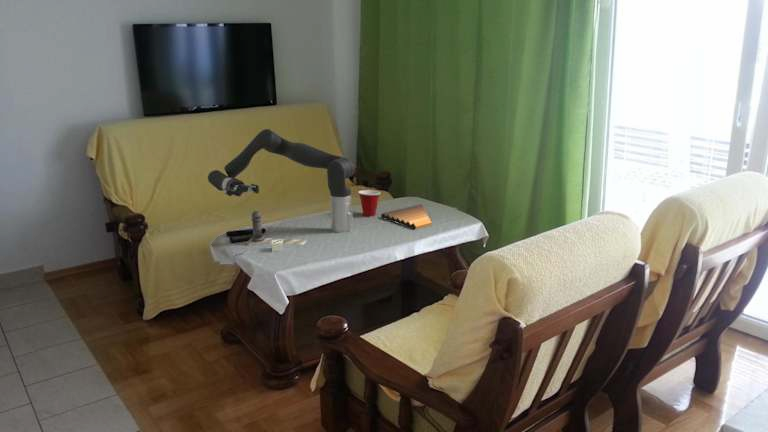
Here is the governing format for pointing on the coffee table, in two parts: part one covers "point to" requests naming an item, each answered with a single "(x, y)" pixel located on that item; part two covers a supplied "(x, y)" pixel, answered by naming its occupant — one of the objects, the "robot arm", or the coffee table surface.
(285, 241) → the board
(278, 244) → the die
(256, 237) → the pawn
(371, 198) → the plastic cup
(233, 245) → the coffee table surface
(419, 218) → the pan flute
